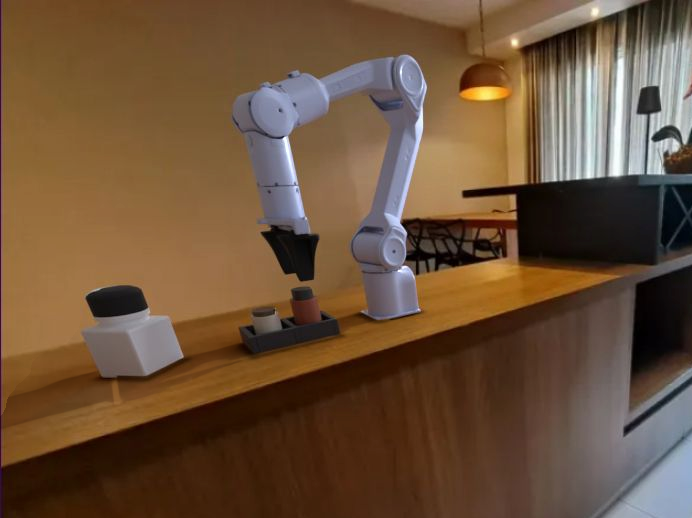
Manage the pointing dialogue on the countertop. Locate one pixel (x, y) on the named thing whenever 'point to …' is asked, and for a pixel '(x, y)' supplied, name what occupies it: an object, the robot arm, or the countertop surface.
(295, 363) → the countertop surface
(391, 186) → the robot arm
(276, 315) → the cream jar
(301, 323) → the spice bottle
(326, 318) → the holder
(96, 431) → the countertop surface
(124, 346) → the medicine bottle
